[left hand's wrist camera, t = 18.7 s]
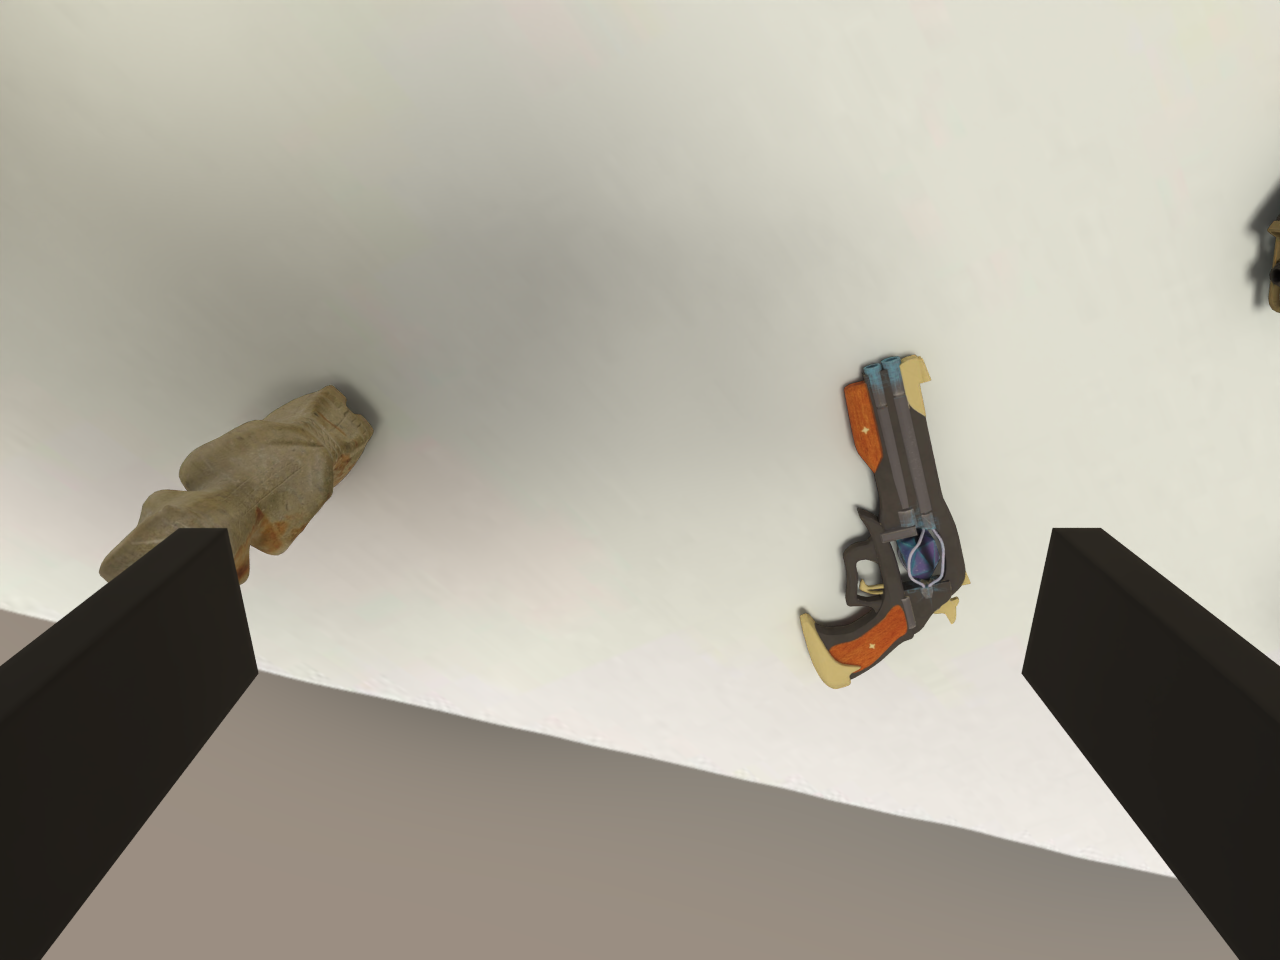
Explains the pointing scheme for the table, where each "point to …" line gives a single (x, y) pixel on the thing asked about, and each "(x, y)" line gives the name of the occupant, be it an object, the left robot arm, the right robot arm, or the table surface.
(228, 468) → the sculpture
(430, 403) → the table surface
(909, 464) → the toy gun
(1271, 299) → the spray gun
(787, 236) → the table surface
